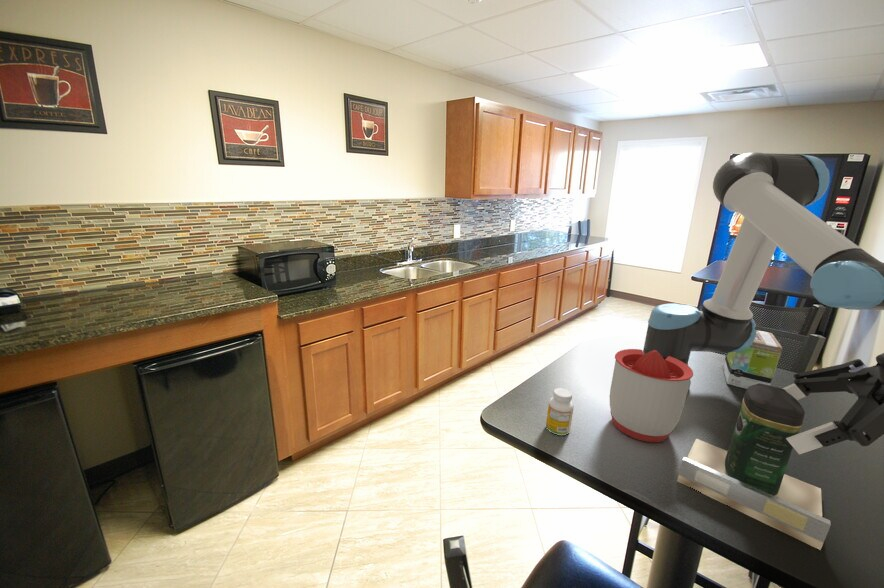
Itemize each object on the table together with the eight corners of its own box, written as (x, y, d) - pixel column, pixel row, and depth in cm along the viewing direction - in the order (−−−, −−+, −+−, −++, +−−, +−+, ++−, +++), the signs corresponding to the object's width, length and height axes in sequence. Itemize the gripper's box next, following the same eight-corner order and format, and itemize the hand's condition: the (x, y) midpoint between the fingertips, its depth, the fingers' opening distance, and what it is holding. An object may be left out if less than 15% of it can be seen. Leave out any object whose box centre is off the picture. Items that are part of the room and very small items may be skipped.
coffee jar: (782, 505, 66) (815, 412, 61) (727, 486, 69) (754, 398, 64) (769, 471, 74) (797, 387, 69) (721, 456, 77) (744, 375, 72)
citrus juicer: (678, 420, 92) (696, 345, 87) (675, 459, 78) (697, 373, 73) (610, 399, 100) (623, 330, 95) (597, 432, 86) (611, 352, 81)
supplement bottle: (553, 419, 90) (558, 383, 88) (573, 430, 87) (579, 392, 84) (541, 428, 86) (546, 391, 84) (562, 440, 83) (568, 401, 80)
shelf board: (677, 481, 72) (678, 474, 72) (694, 444, 83) (696, 438, 83) (820, 550, 59) (823, 542, 58) (818, 495, 70) (821, 488, 70)
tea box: (769, 395, 106) (784, 347, 102) (726, 384, 111) (738, 338, 108) (760, 374, 119) (773, 331, 115) (721, 366, 124) (732, 324, 120)
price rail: (678, 475, 71) (682, 460, 70) (680, 471, 73) (684, 456, 72) (823, 544, 58) (830, 526, 57) (823, 538, 59) (830, 520, 58)
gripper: (1025, 431, 45) (826, 489, 55) (891, 354, 68) (765, 406, 77) (980, 381, 46) (791, 448, 56) (861, 322, 68) (741, 377, 78)
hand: (776, 424), depth 67 cm, fingers open, 13 cm apart
